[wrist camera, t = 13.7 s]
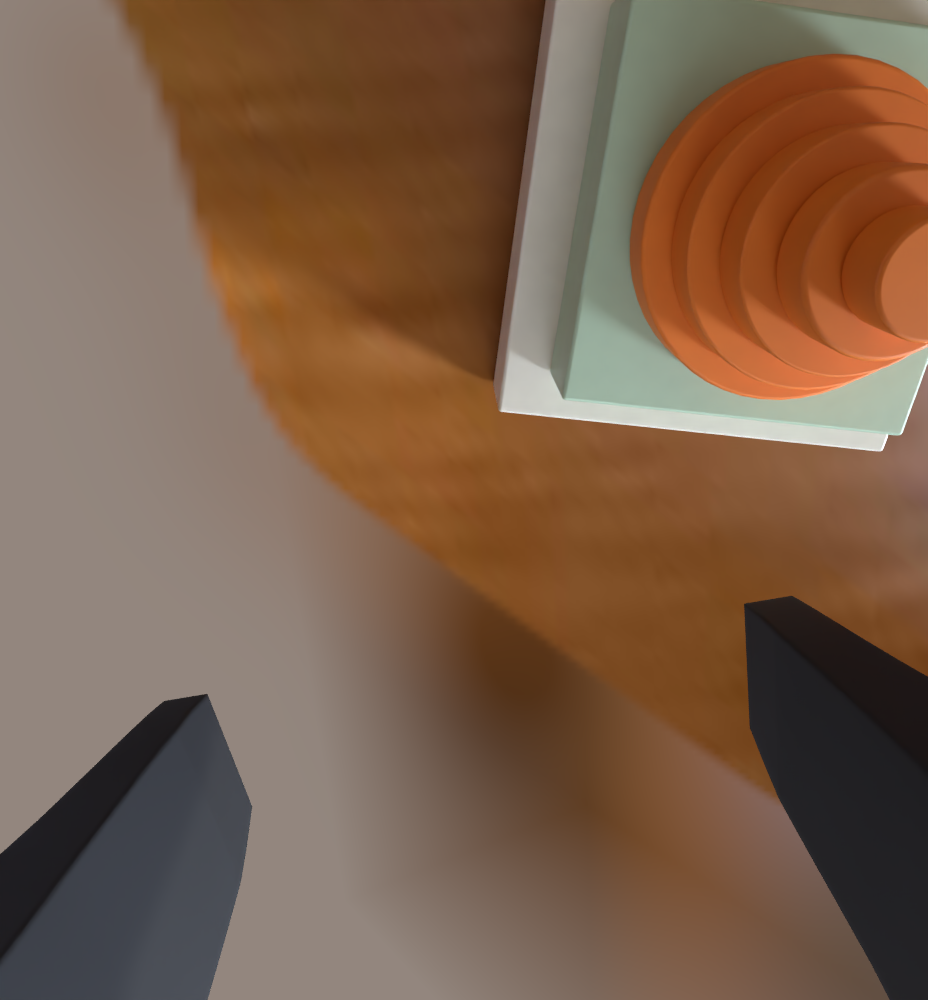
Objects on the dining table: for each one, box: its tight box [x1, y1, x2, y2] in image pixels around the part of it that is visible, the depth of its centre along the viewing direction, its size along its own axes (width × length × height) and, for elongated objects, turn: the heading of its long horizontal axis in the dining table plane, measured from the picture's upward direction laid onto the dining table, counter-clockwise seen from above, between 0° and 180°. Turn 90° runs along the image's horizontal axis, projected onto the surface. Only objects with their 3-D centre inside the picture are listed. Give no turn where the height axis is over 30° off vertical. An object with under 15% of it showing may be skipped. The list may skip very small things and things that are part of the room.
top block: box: [550, 0, 928, 435], centre depth 15 cm, size 7×7×2 cm
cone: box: [630, 54, 928, 400], centre depth 12 cm, size 6×6×5 cm
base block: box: [493, 0, 928, 451], centre depth 17 cm, size 9×9×2 cm
